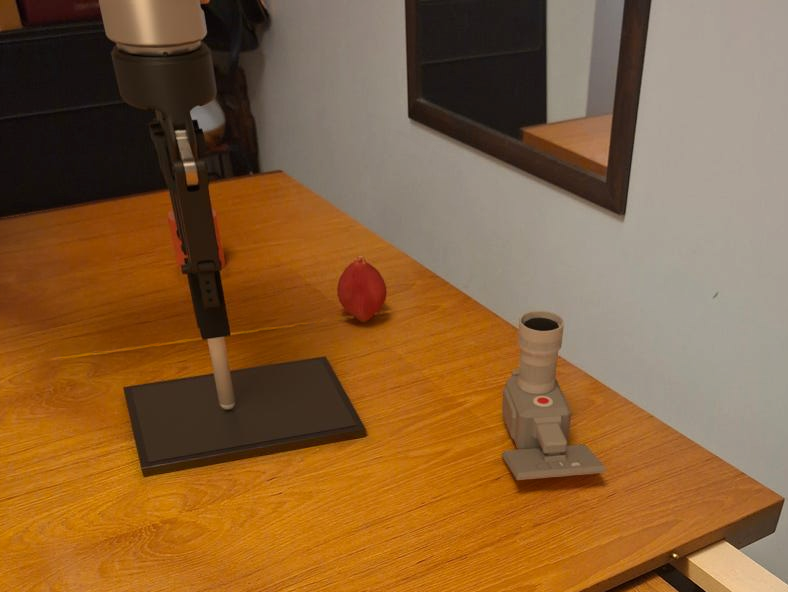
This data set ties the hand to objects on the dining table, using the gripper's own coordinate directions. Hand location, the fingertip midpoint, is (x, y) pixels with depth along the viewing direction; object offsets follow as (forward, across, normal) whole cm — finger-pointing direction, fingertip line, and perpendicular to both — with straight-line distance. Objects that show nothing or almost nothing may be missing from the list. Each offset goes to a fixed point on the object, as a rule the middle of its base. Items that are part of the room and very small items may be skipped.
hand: (213, 330), depth 86 cm
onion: (+10, +17, -19) cm, 28 cm away
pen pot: (+10, +38, -3) cm, 39 cm away
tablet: (+10, 0, -1) cm, 10 cm away
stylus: (+8, 0, 0) cm, 8 cm away
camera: (+10, -16, -28) cm, 34 cm away
